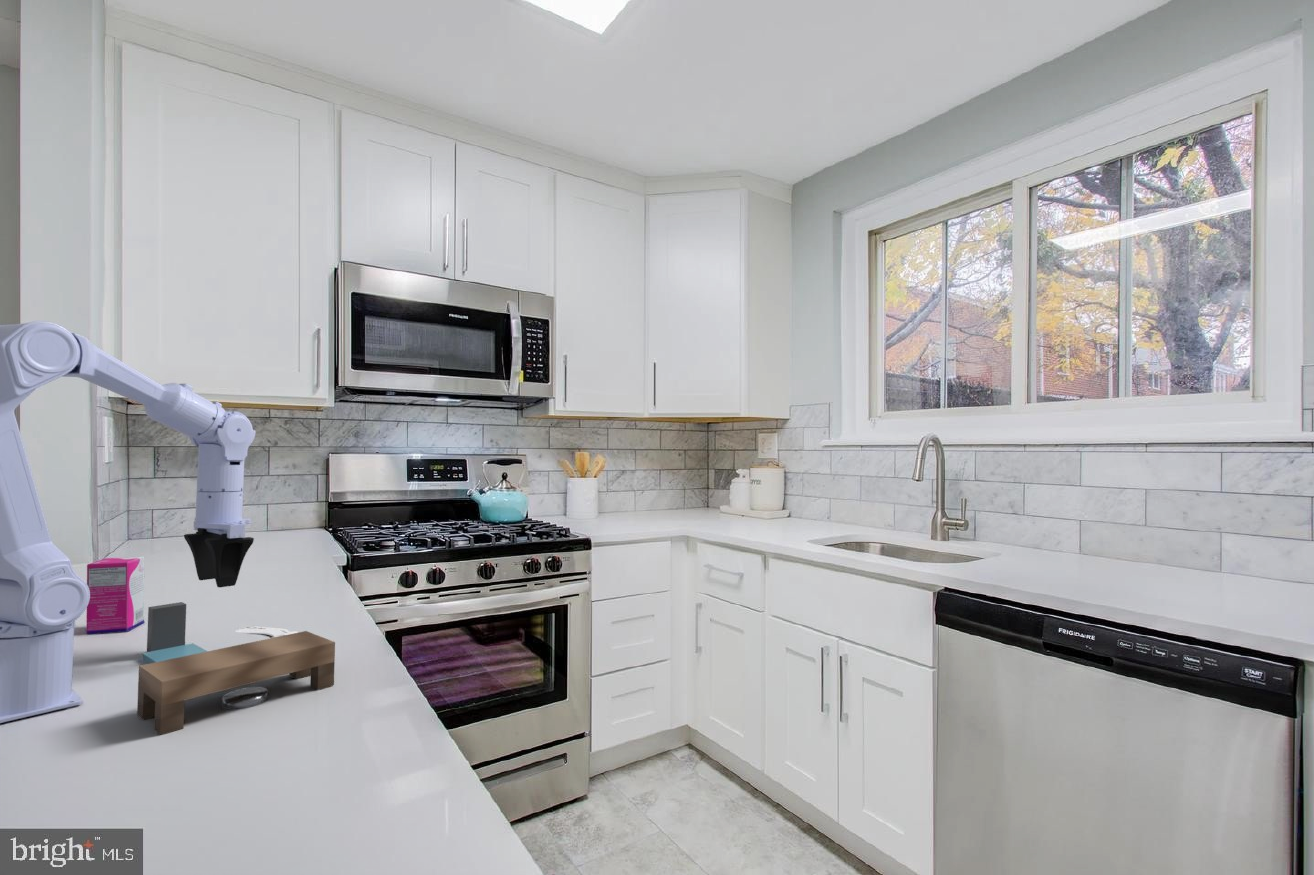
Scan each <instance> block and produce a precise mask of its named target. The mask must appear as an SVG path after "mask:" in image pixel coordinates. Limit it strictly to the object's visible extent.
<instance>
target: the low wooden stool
mask: <svg viewBox="0 0 1314 875" xmlns="http://www.w3.org/2000/svg"><path fill="white" fill-rule="evenodd" d="M298 632H299V631H298ZM206 651H207V652H203V653H198V654H193V655H188V656H183V657H179V658H174V659H169V660H164V661H159V662H155V663H150V664H147V663H145V664H141V665H138V682H137V683H138V684H137V685H138V686H137V711H136V713H137V714H136V715H137V716H138V717H139V719H141V720H143V721H144V720H146V719H147V720H148V719H150V718H154V722H153V723H154V726H153V729H154V731H155V732H156V733H158V735H165V734H167V733H168V734H169V733H172V732H176V731H179V730H182V729H184V725H185V723H184V722H185V721H184V720H185V701H186V700H191V699H194V698H198V697H202V696H207V695H209V694H214V693H218V692H221V691H225V690H230V689H233V688H237V687H238V688H239V687H240V686H245V685H249V684H253V683H257V682H261V681H265V680H268V679H272V678H276V677H280V676H284V675H288V676H289V677H291V678H293V679H294V680H299V679H302V678H305V677H309V676H310V681H309V682H310V685H309V686H310V687H311V688H313V689H314V690H317V689H320V690H323V689H326V687H327V688H329V687H330V688H331V687H333V685H334V686H335V664H336V663H335V660H336V659H335V658H336V642H335V641H334V640H331V639H328V638H325V637H322V636H320V635H317V634H315V633H312V632H310V631H307V630H304V631H300V632H299V633H294V634H289V635H284V636H279V637H275V638H272V637H270V638H266V639H261V640H256V641H250V642H247V643H241V644H238V645H232V646H228V647H224V648H218V649H213V650H209V651H208V650H206ZM298 678H299V679H298Z"/></svg>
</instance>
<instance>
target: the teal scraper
mask: <svg viewBox="0 0 1314 875" xmlns="http://www.w3.org/2000/svg"><path fill="white" fill-rule="evenodd" d="M147 610H148V611H147V633H146V635H147V639H146V652H142V656H141V657H142V658H141V659H142V661H143V662H144V663H145V664H150V663H155V662H159V661H164V660H169V659H174V658H179V657H183V656H188V655H193V654H198V653H203V652H207V651H208V650H207V649H205V648H202V647H201V646H199V645H197V644H195V643H188V644H186V625H187V624H186V622H187V620H186V619H187V603H184V602H182V601H181V602H180V601H179V602H174V603H168V604H167V603H166V604H161V605H155V606H154V605H152V606H148V609H147Z"/></svg>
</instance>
